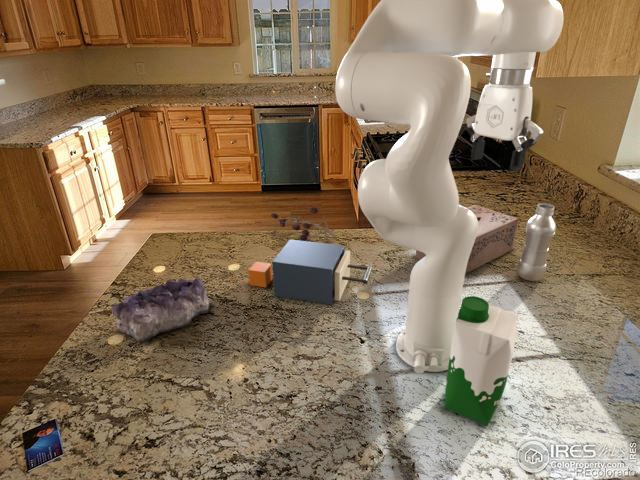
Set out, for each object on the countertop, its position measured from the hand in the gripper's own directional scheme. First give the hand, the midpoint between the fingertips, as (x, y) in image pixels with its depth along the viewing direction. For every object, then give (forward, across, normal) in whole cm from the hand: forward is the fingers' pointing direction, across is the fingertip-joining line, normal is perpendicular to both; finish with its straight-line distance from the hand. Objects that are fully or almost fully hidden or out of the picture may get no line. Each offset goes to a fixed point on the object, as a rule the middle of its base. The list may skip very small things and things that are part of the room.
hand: (495, 164), depth 90 cm
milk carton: (+33, +23, -28) cm, 49 cm away
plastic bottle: (+33, +3, +18) cm, 38 cm away
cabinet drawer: (+32, -21, -28) cm, 47 cm away
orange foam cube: (+33, -34, -41) cm, 62 cm away
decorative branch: (+33, -54, -16) cm, 65 cm away
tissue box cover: (+32, -15, +15) cm, 39 cm away
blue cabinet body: (+33, -25, -32) cm, 52 cm away
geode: (+33, -31, -66) cm, 80 cm away
